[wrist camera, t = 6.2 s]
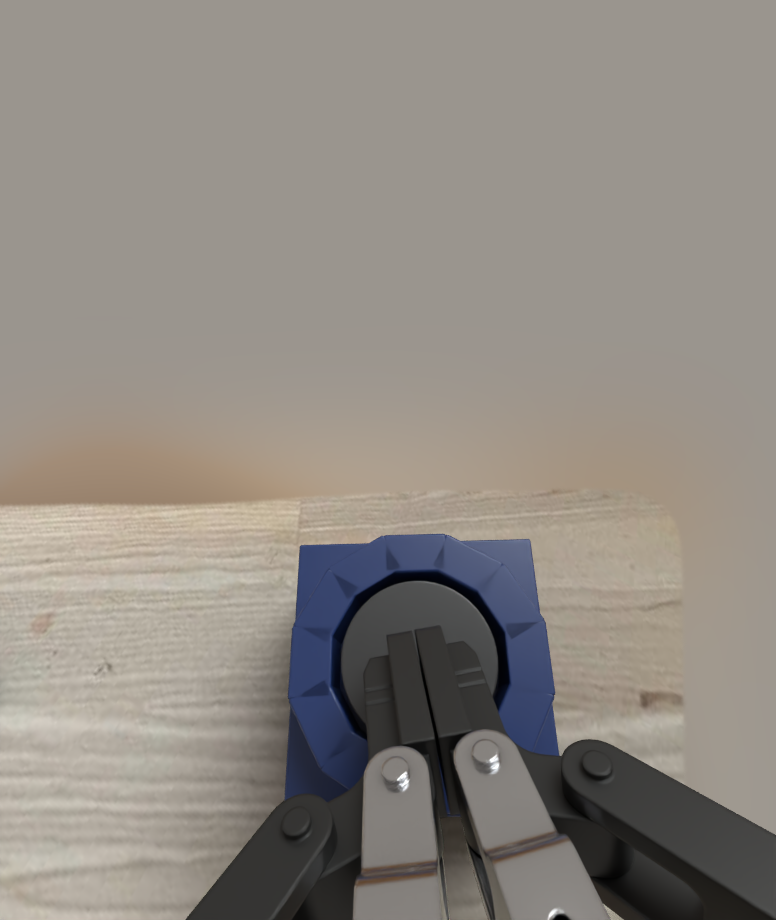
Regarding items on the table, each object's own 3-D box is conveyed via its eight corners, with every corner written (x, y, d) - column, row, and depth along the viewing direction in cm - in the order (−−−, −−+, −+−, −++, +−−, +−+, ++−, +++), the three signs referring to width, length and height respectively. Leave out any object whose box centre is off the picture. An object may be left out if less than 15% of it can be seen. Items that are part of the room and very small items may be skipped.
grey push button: (482, 592, 17) (490, 578, 16) (496, 743, 16) (506, 747, 14) (349, 595, 18) (342, 581, 16) (347, 745, 16) (337, 750, 14)
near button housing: (503, 578, 24) (543, 519, 16) (526, 788, 20) (589, 830, 13) (325, 582, 24) (286, 526, 17) (317, 790, 20) (264, 832, 13)
